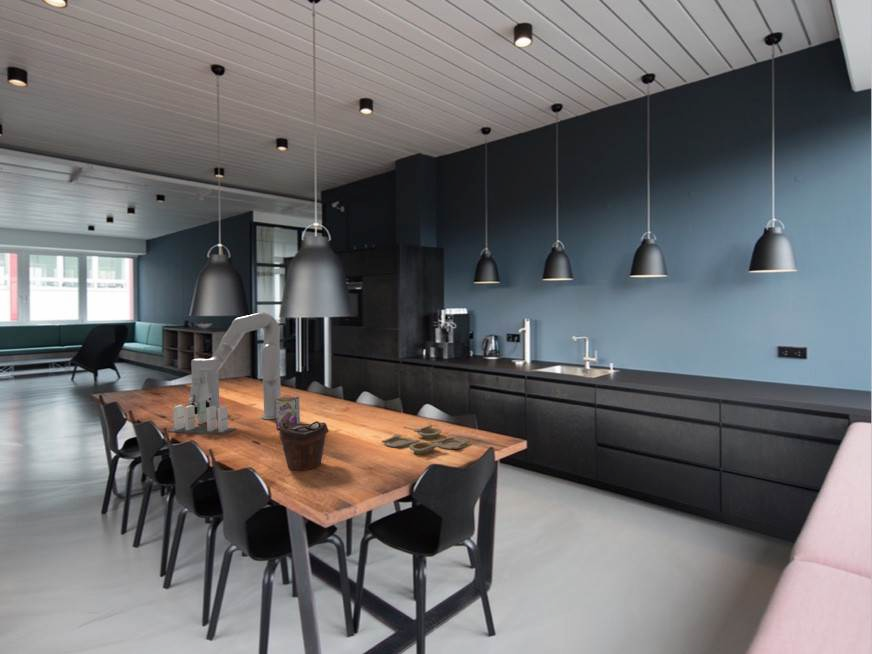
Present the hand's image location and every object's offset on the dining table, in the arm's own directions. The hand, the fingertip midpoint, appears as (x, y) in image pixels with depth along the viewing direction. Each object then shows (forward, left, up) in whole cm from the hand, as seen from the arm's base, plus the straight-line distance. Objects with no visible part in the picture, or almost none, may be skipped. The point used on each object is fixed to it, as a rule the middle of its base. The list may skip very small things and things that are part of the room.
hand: (200, 412), depth 272 cm
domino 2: (-4, +14, -6) cm, 16 cm away
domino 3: (0, 0, -6) cm, 6 cm away
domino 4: (-17, +14, -6) cm, 23 cm away
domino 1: (+2, +14, -6) cm, 15 cm away
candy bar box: (-55, +4, -6) cm, 55 cm away
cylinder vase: (+15, -26, -6) cm, 31 cm away
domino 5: (-24, +14, -6) cm, 28 cm away
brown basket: (-91, +55, -6) cm, 106 cm away
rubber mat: (-11, +14, -6) cm, 19 cm away
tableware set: (-132, +20, -7) cm, 133 cm away
